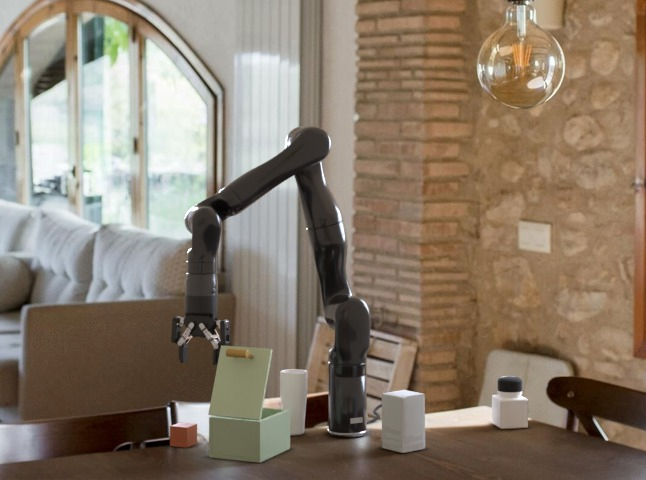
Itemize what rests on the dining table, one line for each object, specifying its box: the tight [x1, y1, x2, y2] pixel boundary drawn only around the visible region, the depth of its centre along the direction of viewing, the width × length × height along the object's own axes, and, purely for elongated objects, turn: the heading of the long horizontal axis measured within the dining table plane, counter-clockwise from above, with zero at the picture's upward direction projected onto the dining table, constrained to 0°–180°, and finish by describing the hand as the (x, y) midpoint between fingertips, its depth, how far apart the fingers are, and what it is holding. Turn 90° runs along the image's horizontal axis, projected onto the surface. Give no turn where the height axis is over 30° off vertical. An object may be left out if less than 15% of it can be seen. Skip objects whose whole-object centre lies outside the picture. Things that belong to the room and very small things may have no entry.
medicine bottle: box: [491, 375, 529, 430], centre depth 319 cm, size 7×7×12 cm
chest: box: [208, 406, 291, 464], centre depth 289 cm, size 15×13×9 cm
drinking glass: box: [279, 368, 309, 437], centre depth 310 cm, size 7×7×15 cm
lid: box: [208, 345, 274, 420], centre depth 284 cm, size 16×13×5 cm
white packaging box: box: [381, 389, 426, 454], centre depth 294 cm, size 7×7×13 cm
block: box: [169, 422, 198, 449], centre depth 298 cm, size 5×5×5 cm
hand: (200, 363), depth 295 cm, fingers open, 8 cm apart
